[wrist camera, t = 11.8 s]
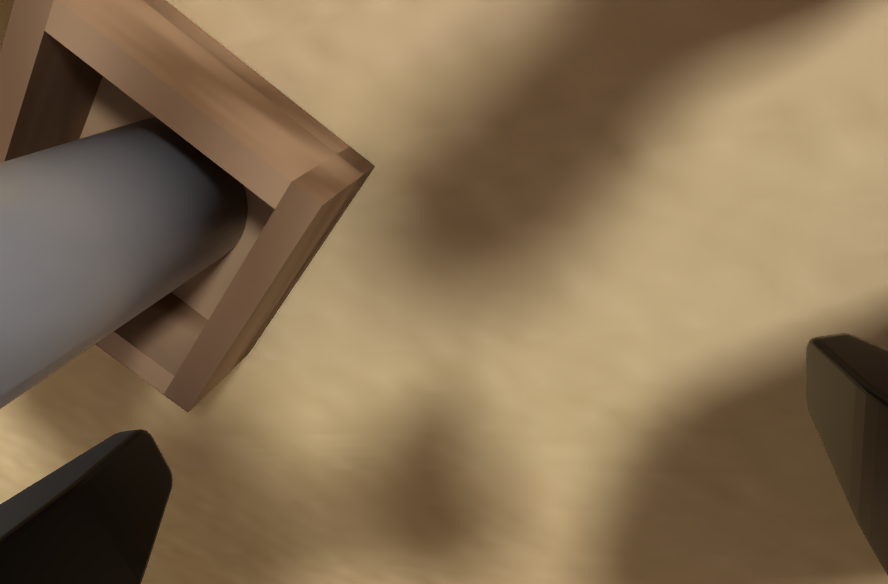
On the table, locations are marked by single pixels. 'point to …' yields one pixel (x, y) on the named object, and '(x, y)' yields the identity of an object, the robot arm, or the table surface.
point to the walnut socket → (210, 131)
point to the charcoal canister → (102, 240)
